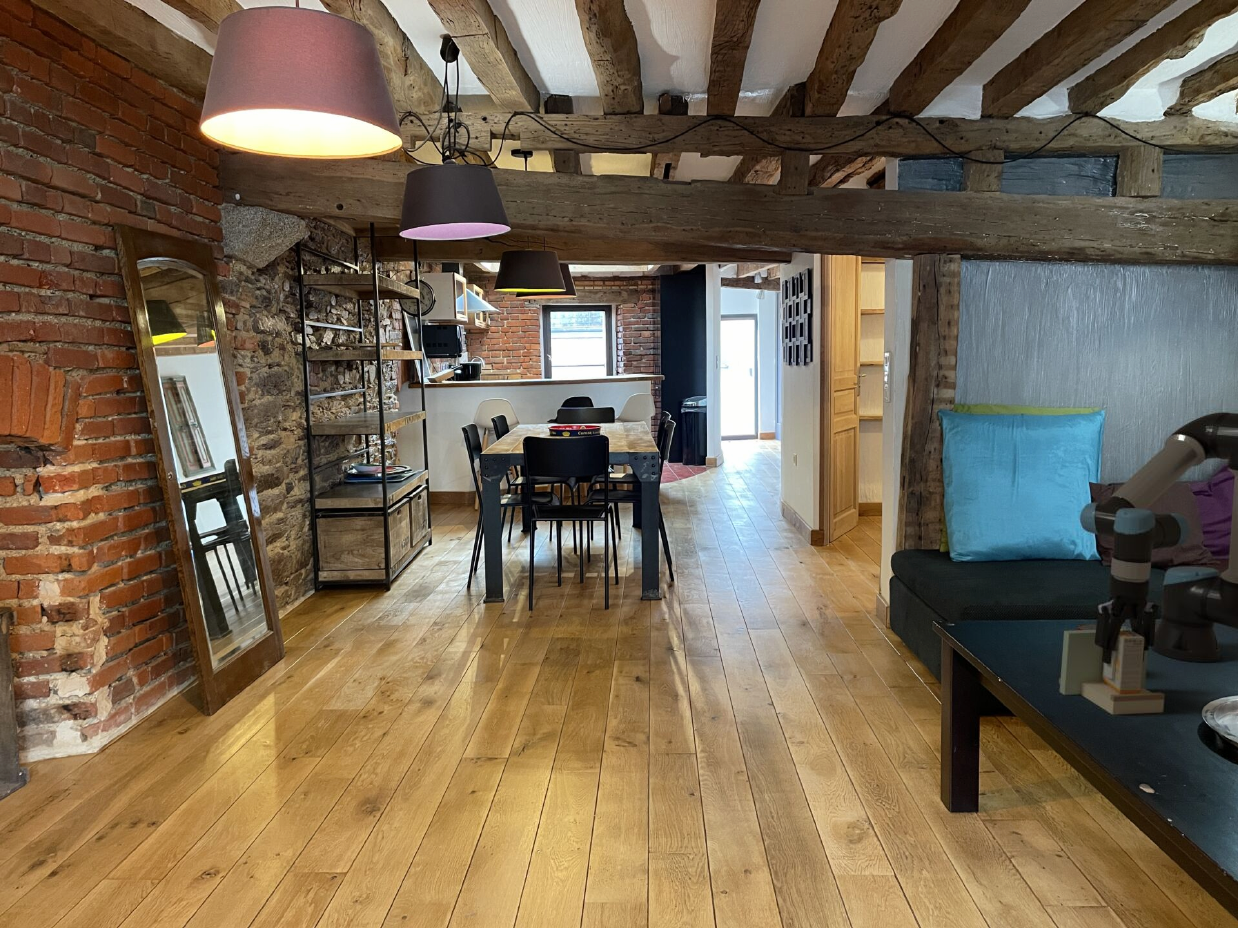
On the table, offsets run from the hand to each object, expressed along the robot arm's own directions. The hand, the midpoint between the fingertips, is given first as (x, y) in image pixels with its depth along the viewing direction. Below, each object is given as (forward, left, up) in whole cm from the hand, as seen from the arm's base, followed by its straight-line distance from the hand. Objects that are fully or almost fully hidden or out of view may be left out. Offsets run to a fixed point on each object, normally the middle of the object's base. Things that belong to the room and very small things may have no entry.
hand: (1121, 675), depth 189 cm
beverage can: (-4, -17, -7) cm, 19 cm away
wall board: (0, -3, -6) cm, 7 cm away
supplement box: (0, 0, -3) cm, 3 cm away
